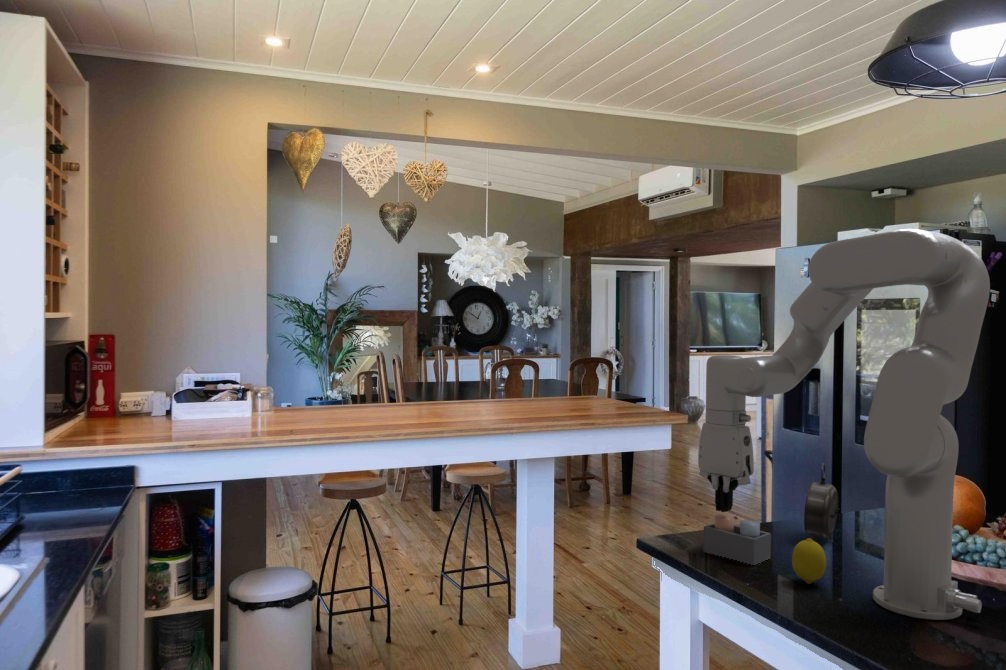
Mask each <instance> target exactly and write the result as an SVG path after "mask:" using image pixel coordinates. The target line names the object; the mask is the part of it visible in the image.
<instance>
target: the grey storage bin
mask: <svg viewBox="0 0 1006 670" xmlns="http://www.w3.org/2000/svg"><path fill="white" fill-rule="evenodd" d="M703 553H707V554H710V555H713V554H714V556H717V555H718V557H720V556H722V557H721V558H724V557H726V558H725V559H727V558H729V559H728V560H731V559H733V560H732V561H734V560H737V561H736V562H738V561H740V562H739V563H741V562H744V563H743V564H745V563H747V564H746V565H748V564H751V565H750V566H752V565H756V564H758V563H760V564H762V563H761V562H763V561H765V560H768V559H770V558H772V557H771V556H772V533H771V532H766V531H763V530H760V536H759V537H756V538H752V537H748V536H744V535H740V525H738V524H734V533H732V532H728V531H724V530H720V529H716V528H715V522H714V523H710V524H707V525H705V526H703ZM770 560H771V559H770ZM768 561H769V560H768ZM765 562H766V561H765ZM763 563H764V562H763ZM758 565H759V564H758ZM756 566H757V565H756Z"/></svg>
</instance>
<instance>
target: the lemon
mask: <svg viewBox="0 0 1006 670" xmlns="http://www.w3.org/2000/svg"><path fill="white" fill-rule="evenodd" d="M791 557H792V558H791V565H792V569H793V571H794V573H795V574H796V576H797V577H798V578H800V579H801V580H804V582H805V583H806V584H808V585H811V584H812V583H813V582H816V581H819V580H820V579H821V578H822V577H823V576H824V574H825V572H826V569H827V556H826V552H825V551H824V548H823V547H822V546H821V545H820V544H819V543H818V542H816V540H814V541H813V540H812V539H811V537H810V538H809V537H808V538H806V539H804V540H801V541H799V542H798V543H797V544H795V546H794V548H793V552H792V555H791Z"/></svg>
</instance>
